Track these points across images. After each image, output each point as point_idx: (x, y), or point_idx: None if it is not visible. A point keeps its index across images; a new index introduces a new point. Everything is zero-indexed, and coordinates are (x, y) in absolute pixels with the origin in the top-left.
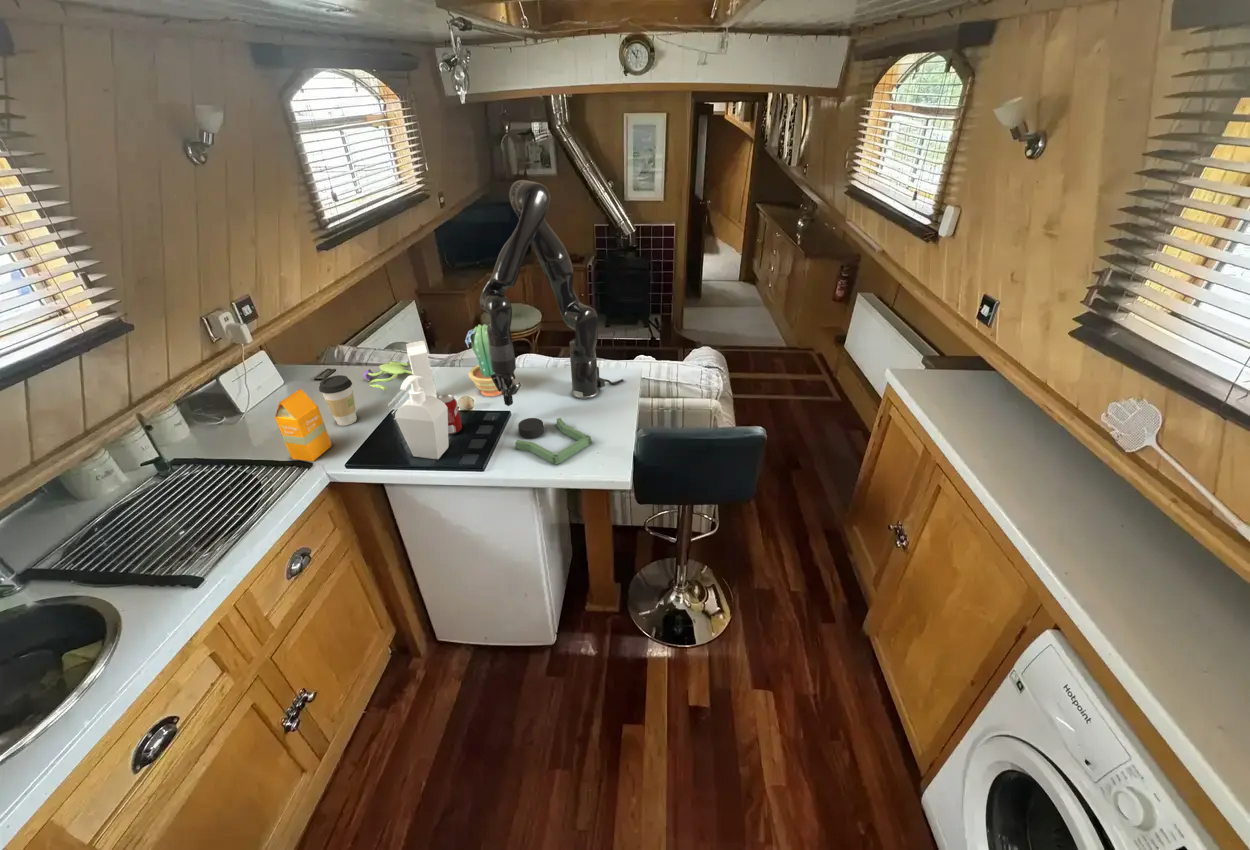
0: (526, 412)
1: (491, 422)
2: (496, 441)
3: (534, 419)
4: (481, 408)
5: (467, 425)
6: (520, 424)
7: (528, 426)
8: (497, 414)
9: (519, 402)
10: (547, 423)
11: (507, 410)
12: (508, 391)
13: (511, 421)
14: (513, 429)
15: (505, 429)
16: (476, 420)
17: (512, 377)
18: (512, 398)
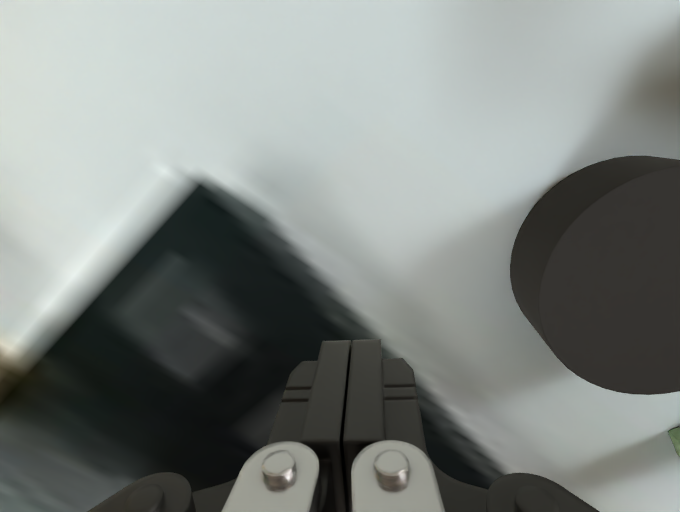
0: (316, 85)
1: (256, 368)
2: (488, 473)
3: (636, 208)
4: (26, 305)
5: (187, 474)
6: (580, 351)
7: (678, 328)
8: (181, 278)
9: (105, 13)
10: (637, 66)
11: (173, 187)
12: (326, 504)
13: (350, 268)
14: (459, 325)
15: (412, 360)
16: (165, 413)
17: None
18: (418, 410)
